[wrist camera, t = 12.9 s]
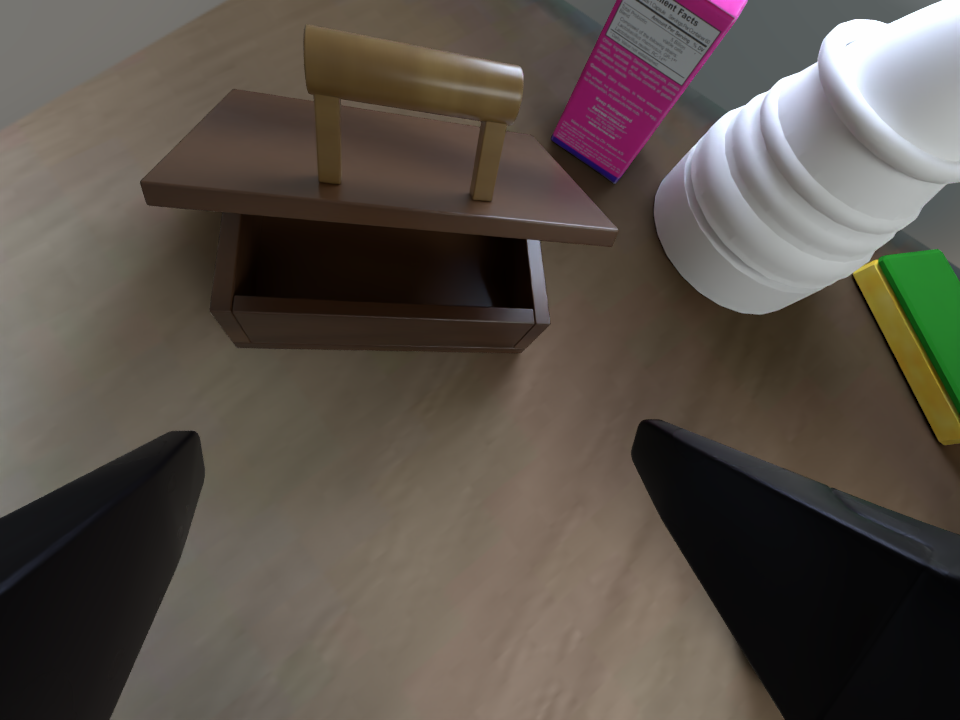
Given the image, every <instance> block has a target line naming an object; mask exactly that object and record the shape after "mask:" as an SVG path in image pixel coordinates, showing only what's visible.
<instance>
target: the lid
mask: <svg viewBox="0 0 960 720" xmlns="http://www.w3.org/2000/svg"><path fill="white" fill-rule="evenodd" d="M304 69H305V79H306V86H307V90H308V93H309V94H312V95H314V101H308V100H302V99H295V98H289V97H283V96H276V95H270V94H263V93H257V92H250V91H244V90H237V89H232V90H231V91H230V92H229V93H228V94H227V95H226V96H225V97H224V98H223V99H222V100H221V101H220V102H219V103H218V104H217V105H216V106H215V107H214V108H213V109H212V110H211V111H210V112H209V113H208V114H207V115H206V116H205V117H204V118H203V119H202V120H201V121H200V122H199V123H198V124H197V125H196V126H195V127H194V128H193V129H192V130H191V131H190V132H189V133H188V134H187V135H186V136H185V137H184V138H183V139H182V140H181V141H180V142H179V143H178V144H177V145H176V146H175V147H174V148H173V149H172V150H171V151H170V152H169V153H168V154H167V155H166V156H165V157H164V158H163V159H162V160H161V161H160V162H159V163H158V164H157V165H156V166H155V167H154V168H153V169H152V170H151V171H150V172H149V173H148V174H147V175H146V176H145V177H144V178H143V179H142V180H141V181H140V184H141V188H142V191H143V194H144V197H145V201H146V204H147V205H149V206H159V207H170V208H182V209H193V210H204V211H215V212H226V213H238V214H249V215H260V216H271V217H282V218H293V219H305V220H316V221H327V222H338V223H349V224H361V225H372V226H383V227H394V228H405V229H416V230H428V231H439V232H450V233H461V234H472V235H484V236H495V237H506V238H517V239H528V240H539V241H551V242H562V243H573V244H584V245H595V246H607V247H612V246H613V244H614V241H615V239H616V236H617V234H618V229H617V227H616V226H615V225H614V224H613V223H612V222H611V221H610V220H609V219H608V218H607V217H606V215H605V214H604V213H603V212H602V211H601V210H600V209H599V208H598V207H597V206H596V204H595V203H594V202H593V201H592V200H591V199H590V198H589V197H588V196H587V195H586V194H585V192H584V191H583V190H582V189H581V188H580V187H579V186H578V185H577V184H576V183H575V181H574V180H573V179H572V178H571V177H570V176H569V175H568V174H567V173H566V172H565V171H564V169H563V168H562V167H561V166H560V165H559V164H558V163H557V162H556V161H555V160H554V159H553V157H552V156H551V155H550V154H549V153H548V152H547V151H546V150H545V149H544V148H543V146H542V145H541V144H540V143H539V142H538V141H537V140H536V139H535V138H534V137H533V136H532V135H528V134H522V133H515V132H509V131H506V128H507V125H508V126H509V125H512V124H513V123H514V121H515V119H516V117H517V115H518V112H519V108H520V104H521V100H522V93H523V71H522V68H521V67H520V66H518V65H513V64H508V63H503V62H497V61H492V60H487V59H482V58H477V57H472V56H467V55H462V54H457V53H452V52H446V51H441V50H436V49H431V48H426V47H421V46H416V45H411V44H406V43H401V42H395V41H390V40H385V39H380V38H375V37H370V36H365V35H360V34H355V33H350V32H345V31H339V30H334V29H329V28H324V27H319V26H314V25H309V24H307V25H305V29H304ZM341 99H344V100H350V101H357V102H363V103H369V104H376V105H382V106H388V107H394V108H401V109H407V110H413V111H420V112H426V113H432V114H439V115H445V116H451V117H458V118H464V119H470V120H477V121H481V126H480V127H477V126H470V125H464V124H457V123H451V122H444V121H438V120H431V119H425V118H418V117H412V116H405V115H399V114H392V113H386V112H380V111H373V110H367V109H360V108H354V107H347V106H341Z"/></svg>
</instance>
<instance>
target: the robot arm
mask: <svg viewBox="0 0 960 720" xmlns="http://www.w3.org/2000/svg"><path fill="white" fill-rule="evenodd" d="M631 456H632V460H633V463H634V465H635V467H636V469H637V471H638V473H639V475H640V477H641V479H642V481H643V483H644V485H645V487H646V489H647V491H648V493H649V495H650V497H651V500H652V502H653V504H654V506H655V508H656V510H657V512H658V513H659V515H660V517H661V519H662V521H663V522H664V524H665V526H666V528H667V529H668V531H669V532H670V534H671V536H672V537H673V539H674V541H675V542H676V544H677V545H678V547H679V549H680V550H681V552H682V554H683V555H684V557H685V558H686V560H687V562H688V563H689V565H690V567H691V568H692V570H693V571H694V573H695V575H696V576H697V578H698V580H699V581H700V583H701V584H702V586H703V588H704V589H705V591H706V593H707V594H708V596H709V597H710V599H711V601H712V602H713V604H714V606H715V607H716V609H717V610H718V612H719V614H720V615H721V617H722V619H723V620H724V622H725V623H726V625H727V627H728V628H729V630H730V632H731V633H732V635H733V636H734V638H735V640H736V641H737V643H738V645H739V646H740V648H741V649H742V651H743V653H744V654H745V656H746V658H747V659H748V661H749V662H750V664H751V666H752V667H753V669H754V671H755V672H756V674H757V675H758V677H759V679H760V680H761V682H762V684H763V685H764V687H765V688H766V690H767V692H768V693H769V695H770V697H771V698H772V700H773V701H774V703H775V705H776V706H777V708H778V710H779V711H780V713H781V714H782V716H783V718H784V719H785V720H960V535H958V534H955V533H952V532H950V531H947V530H944V529H941V528H938V527H936V526H933V525H930V524H927V523H924V522H922V521H919V520H916V519H913V518H911V517H908V516H905V515H903V514H900V513H897V512H894V511H892V510H889V509H886V508H884V507H881V506H878V505H876V504H873V503H871V502H868V501H865V500H863V499H860V498H858V497H855V496H852V495H850V494H847V493H845V492H842V491H840V490H837V489H835V488H829V487H828V486H827V485H824V484H822V483H819V482H817V481H814V480H812V479H809V478H807V477H804V476H802V475H799V474H797V473H794V472H792V471H789V470H786V469H784V468H781V467H779V466H776V465H774V464H771V463H769V462H766V461H764V460H761V459H759V458H756V457H754V456H751V455H748V454H746V453H743V452H741V451H738V450H736V449H733V448H731V447H728V446H726V445H723V444H721V443H718V442H716V441H713V440H710V439H708V438H705V437H703V436H700V435H698V434H695V433H693V432H690V431H688V430H685V429H683V428H680V427H678V426H675V425H673V424H670V423H667V422H665V421H662V420H659V419H648V420H643V421H641V422H640V424H639V426H638V429H637V432H636V436H635V439H634V443H633V446H632V450H631ZM204 478H205V467H204V461H203V454H202V448H201V441H200V437H199V435H198V433H197V432H195V431H171V432H168V433H166V434H164V435H162V436H160V437H158V438H156V439H154V440H152V441H150V442H148V443H146V444H144V445H142V446H140V447H139V448H137V449H135V450H133V451H131V452H129V453H127V454H125V455H123V456H121V457H119V458H117V459H115V460H113V461H111V462H109V463H107V464H105V465H103V466H101V467H99V468H98V469H96V470H94V471H92V472H90V473H88V474H86V475H84V476H82V477H80V478H78V479H76V480H74V481H72V482H70V483H68V484H66V485H64V486H62V487H60V488H58V489H56V490H55V491H53V492H51V493H49V494H47V495H45V496H43V497H41V498H39V499H37V500H35V501H33V502H31V503H29V504H27V505H25V506H23V507H21V508H19V509H17V510H15V511H14V512H12V513H10V514H8V515H6V516H4V517H2V518H0V720H109V719H110V717H111V715H112V713H113V710H114V708H115V706H116V704H117V701H118V699H119V697H120V695H121V692H122V690H123V688H124V686H125V683H126V681H127V679H128V677H129V674H130V672H131V670H132V668H133V665H134V663H135V661H136V658H137V656H138V654H139V652H140V649H141V647H142V645H143V643H144V640H145V638H146V636H147V634H148V631H149V629H150V627H151V625H152V622H153V620H154V618H155V616H156V613H157V611H158V609H159V606H160V604H161V602H162V600H163V597H164V595H165V593H166V591H167V588H168V586H169V584H170V582H171V579H172V577H173V575H174V572H175V570H176V568H177V565H178V563H179V560H180V557H181V554H182V551H183V548H184V545H185V542H186V539H187V536H188V532H189V529H190V526H191V522H192V519H193V516H194V512H195V509H196V506H197V503H198V499H199V496H200V493H201V489H202V486H203V483H204Z"/></svg>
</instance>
